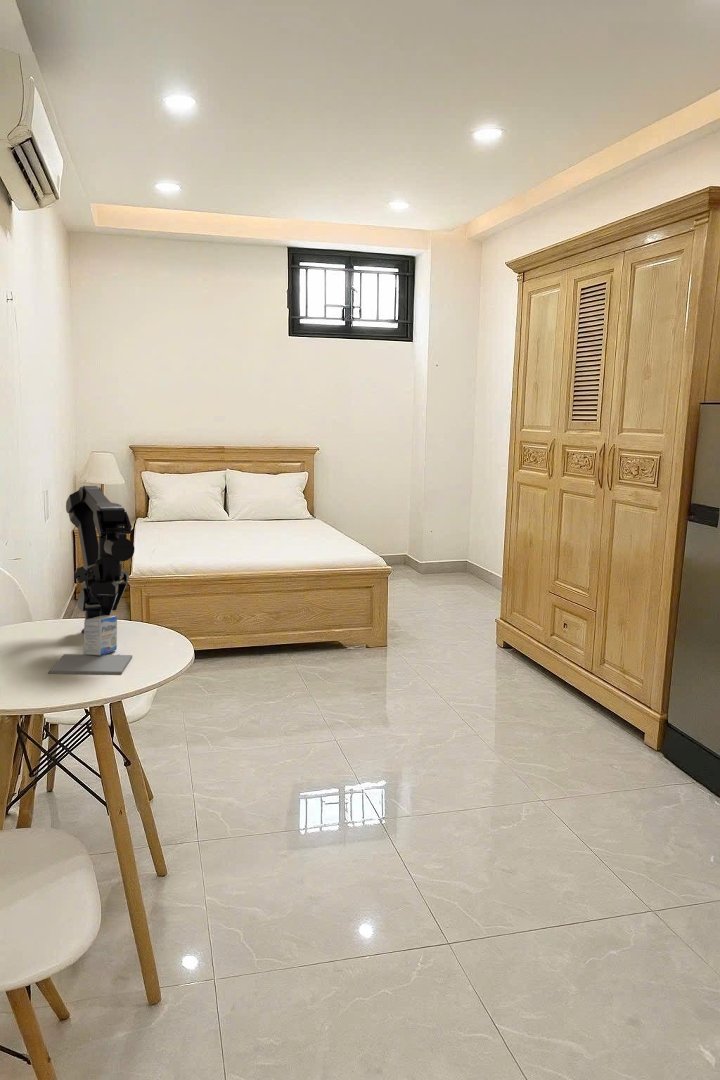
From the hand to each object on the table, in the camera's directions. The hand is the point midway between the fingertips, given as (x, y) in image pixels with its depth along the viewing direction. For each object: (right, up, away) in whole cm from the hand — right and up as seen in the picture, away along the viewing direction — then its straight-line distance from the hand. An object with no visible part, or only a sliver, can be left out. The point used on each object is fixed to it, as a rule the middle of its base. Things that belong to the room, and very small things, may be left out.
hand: (110, 614), depth 202 cm
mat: (+2, -10, -19) cm, 22 cm away
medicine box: (+1, -9, -10) cm, 13 cm away
